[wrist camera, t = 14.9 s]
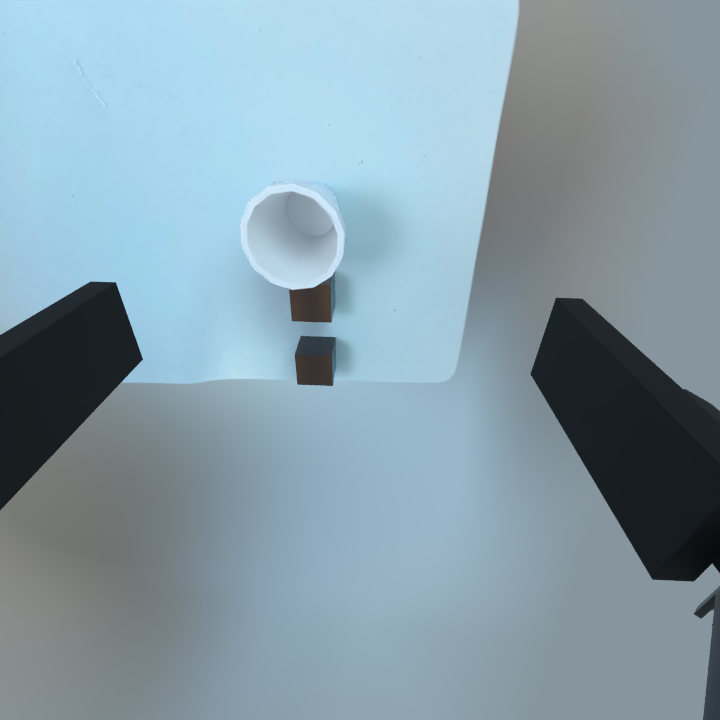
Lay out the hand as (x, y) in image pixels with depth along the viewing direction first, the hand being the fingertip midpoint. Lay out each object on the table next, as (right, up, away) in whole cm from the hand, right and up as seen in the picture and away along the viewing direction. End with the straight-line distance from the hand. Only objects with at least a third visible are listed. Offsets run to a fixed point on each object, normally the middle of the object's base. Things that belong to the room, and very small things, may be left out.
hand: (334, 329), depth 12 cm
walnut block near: (-5, +9, +38) cm, 40 cm away
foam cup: (-5, +17, +33) cm, 38 cm away
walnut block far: (-5, 0, +44) cm, 44 cm away
